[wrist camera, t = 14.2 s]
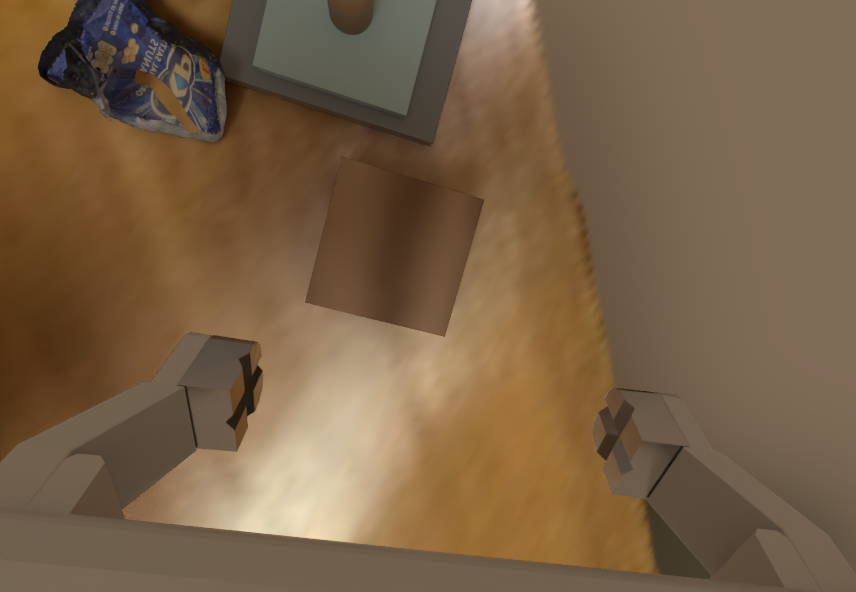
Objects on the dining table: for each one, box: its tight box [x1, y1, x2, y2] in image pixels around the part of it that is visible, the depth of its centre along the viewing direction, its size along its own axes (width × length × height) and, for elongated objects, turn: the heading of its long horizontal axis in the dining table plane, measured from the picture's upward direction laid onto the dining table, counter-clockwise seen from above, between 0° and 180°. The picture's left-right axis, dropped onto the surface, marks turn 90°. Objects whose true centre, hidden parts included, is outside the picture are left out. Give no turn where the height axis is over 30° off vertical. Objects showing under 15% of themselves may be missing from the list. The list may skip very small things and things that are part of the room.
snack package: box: [38, 0, 227, 142], centre depth 32 cm, size 12×6×12 cm
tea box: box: [305, 157, 484, 337], centre depth 35 cm, size 10×10×6 cm
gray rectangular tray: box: [220, 0, 472, 146], centre depth 35 cm, size 16×13×2 cm
